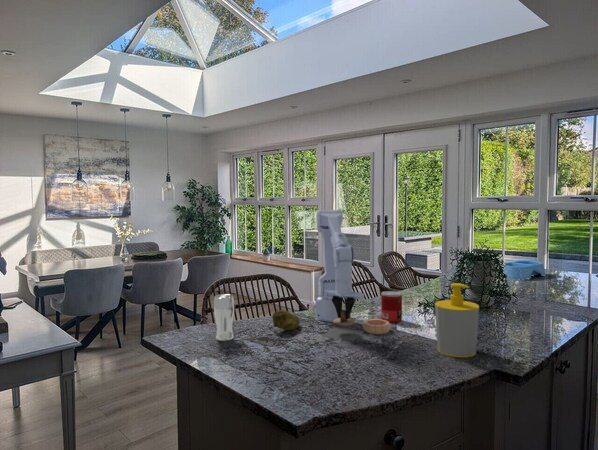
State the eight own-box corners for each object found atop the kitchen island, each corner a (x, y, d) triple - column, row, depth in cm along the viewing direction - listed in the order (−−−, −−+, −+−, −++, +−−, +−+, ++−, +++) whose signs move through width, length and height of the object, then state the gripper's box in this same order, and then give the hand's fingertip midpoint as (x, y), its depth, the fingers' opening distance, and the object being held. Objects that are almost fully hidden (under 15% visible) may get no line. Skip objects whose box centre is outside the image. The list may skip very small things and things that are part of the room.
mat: (321, 337, 151) (321, 335, 151) (335, 328, 161) (335, 326, 161) (353, 341, 145) (353, 340, 145) (365, 332, 156) (365, 331, 156)
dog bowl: (520, 282, 248) (520, 267, 247) (490, 277, 264) (491, 263, 263) (552, 276, 266) (552, 262, 265) (522, 272, 282) (522, 259, 281)
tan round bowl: (360, 332, 155) (360, 324, 155) (368, 326, 163) (368, 317, 163) (385, 336, 151) (384, 327, 151) (392, 329, 159) (392, 320, 159)
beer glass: (238, 336, 153) (237, 294, 152) (228, 342, 147) (227, 298, 146) (220, 334, 155) (219, 293, 155) (210, 340, 149) (209, 297, 148)
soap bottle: (474, 361, 126) (475, 289, 125) (429, 353, 133) (430, 285, 132) (482, 348, 137) (482, 282, 136) (440, 341, 144) (440, 278, 143)
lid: (329, 324, 151) (329, 312, 151) (337, 319, 158) (337, 307, 158) (350, 326, 148) (350, 314, 148) (357, 321, 155) (357, 309, 155)
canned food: (402, 323, 166) (402, 295, 165) (381, 322, 168) (381, 294, 167) (401, 318, 174) (401, 291, 173) (381, 317, 175) (381, 290, 175)
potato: (307, 329, 160) (307, 308, 160) (279, 336, 153) (279, 313, 152) (294, 324, 167) (294, 304, 167) (266, 330, 159) (266, 309, 159)
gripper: (320, 280, 152) (320, 318, 153) (359, 283, 145) (359, 323, 146) (328, 277, 158) (328, 313, 159) (366, 280, 152) (366, 318, 152)
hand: (343, 317), depth 153 cm, fingers closed on lid, 2 cm apart
